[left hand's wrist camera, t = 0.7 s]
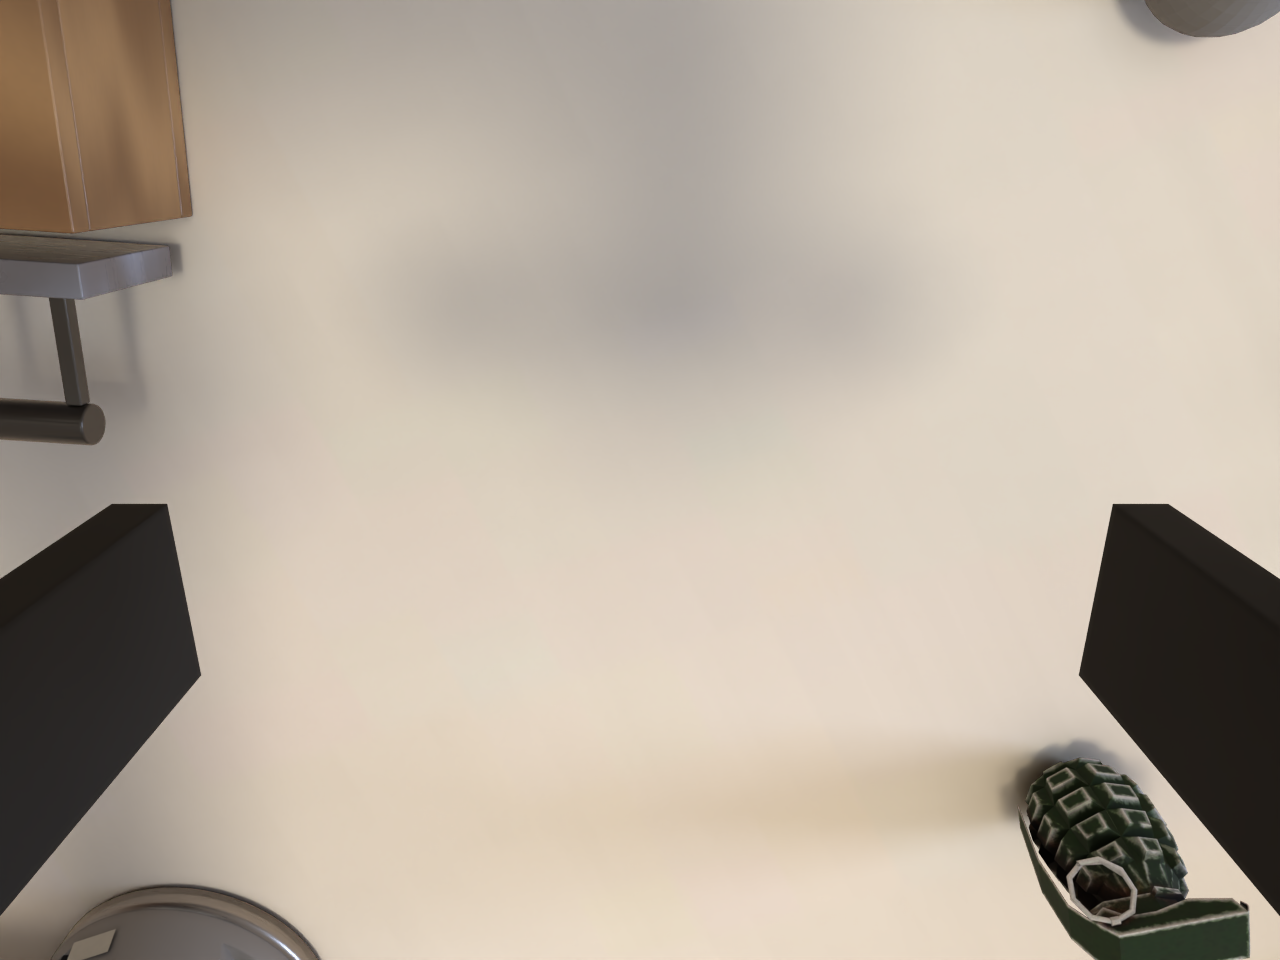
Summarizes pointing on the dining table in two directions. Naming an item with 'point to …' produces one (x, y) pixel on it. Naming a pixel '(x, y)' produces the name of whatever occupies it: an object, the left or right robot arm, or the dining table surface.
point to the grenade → (1122, 871)
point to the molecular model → (1212, 15)
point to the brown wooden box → (89, 116)
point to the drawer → (68, 322)
